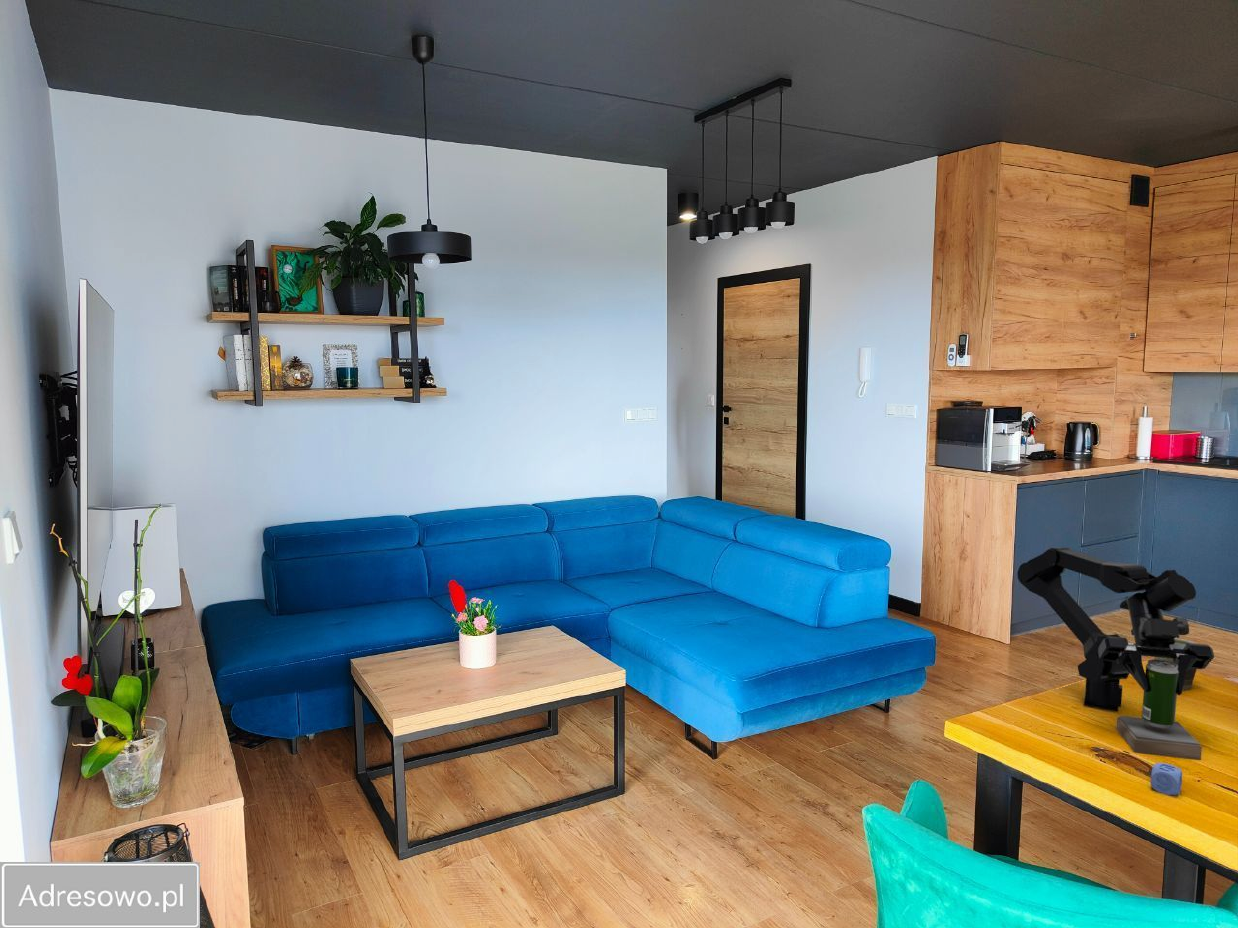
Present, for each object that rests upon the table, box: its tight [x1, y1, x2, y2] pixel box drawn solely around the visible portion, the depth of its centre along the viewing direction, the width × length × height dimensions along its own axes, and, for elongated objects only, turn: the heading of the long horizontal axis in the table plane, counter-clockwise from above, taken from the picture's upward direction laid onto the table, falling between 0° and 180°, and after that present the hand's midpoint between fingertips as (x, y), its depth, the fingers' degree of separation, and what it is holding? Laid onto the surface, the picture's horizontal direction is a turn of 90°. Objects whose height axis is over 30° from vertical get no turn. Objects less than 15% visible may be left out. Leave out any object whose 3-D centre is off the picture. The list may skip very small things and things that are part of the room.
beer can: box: [1141, 659, 1179, 728], centre depth 159 cm, size 5×5×12 cm
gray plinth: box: [1115, 715, 1203, 761], centre depth 160 cm, size 11×11×3 cm
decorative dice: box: [1150, 762, 1183, 796], centre depth 141 cm, size 4×4×4 cm
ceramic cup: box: [1153, 637, 1198, 691], centre depth 190 cm, size 13×10×10 cm
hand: (1163, 692), depth 158 cm, fingers closed on beer can, 5 cm apart
